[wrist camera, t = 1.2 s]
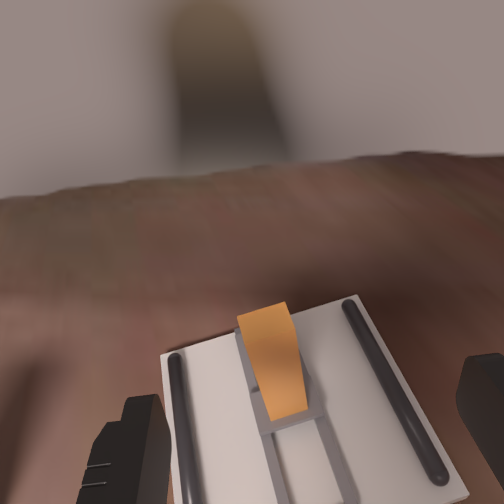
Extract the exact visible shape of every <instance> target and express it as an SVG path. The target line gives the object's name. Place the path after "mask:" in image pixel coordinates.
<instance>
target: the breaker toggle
mask: <svg viewBox="0 0 504 504" xmlns="http://www.w3.org/2000/svg"><path fill="white" fill-rule="evenodd" d="M237 319H238V323H239V326H240V330H241V334H242V337H243V341H244V345H245V347H246V350H247V353H248V356H249V359H250V362H251V365H252V368H253V371H254V374H255V377H256V380H257V382H258V385H259V388H260V391H258V392H255V393H252V394H249V396H250V400H251V404H252V408H253V412H254V416H255V420H256V424H257V427H258V431H259V435H260V436H263V435H266V434H269V433H272V432H275V431H279V430H282V429H285V428H288V427H291V426H294V425H297V424H300V423H303V422H306V421H309V420H312V419H315V418H319V417H322V416H325V412H324V409H323V407H322V404H321V402H320V399H319V396H318V394H317V391H316V389H315V386H314V383H313V381H312V378H311V376H310V375H308V376H305V377H303V374H302V367H301V361H300V355H299V349H298V342H297V336H296V330H295V326H294V324H293V321H292V319H291V316H290V314H289V311H288V309H287V306H286V303H285V302H282V303H278V304H275V305H272V306H269V307H265V308H262V309H259V310H256V311H252V312H249V313H246V314H243V315H239V316H237Z"/></svg>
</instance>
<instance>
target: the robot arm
mask: <svg viewBox="0 0 504 504" xmlns="http://www.w3.org/2000/svg"><path fill="white" fill-rule="evenodd" d="M456 403H457V408H458V411H459V414H460V416H461V418H462V420H463V422H464V424H465V425H466V427H467V429H468V430H469V432H470V434H471V435H472V437H473V439H474V441H475V442H476V444H477V446H478V447H479V449H480V451H481V452H482V454H483V456H484V458H485V459H486V461H487V463H488V464H489V466H490V468H491V469H492V471H493V473H494V475H495V476H496V478H497V480H498V481H499V483H500V485H501V486H502V488H503V490H504V356H503V355H502V354H499V353H492V354H484V355H476V356H469V357H467V358H466V359H465V362H464V366H463V369H462V373H461V377H460V381H459V385H458V389H457V393H456ZM171 453H172V441H171V432H170V428H169V425H168V422H167V419H166V416H165V413H164V410H163V407H162V404H161V401H160V398H159V396H158V394H152V395H143V396H135V397H129V398H127V400H126V402H125V405H124V409H123V413H122V417H121V421H115V422H107V423H106V425H105V426H104V428H103V429H102V431H101V432H100V434H99V435H98V437H97V438H96V439H95V441H94V442H93V445H92V449H91V453H90V456H89V460H88V463H87V470H85V474H84V477H83V481H82V488H81V489H80V491H79V495H78V498H77V502H76V504H166V502H167V492H168V483H169V473H170V463H171Z"/></svg>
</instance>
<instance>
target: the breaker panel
mask: <svg viewBox="0 0 504 504" xmlns="http://www.w3.org/2000/svg"><path fill="white" fill-rule="evenodd" d="M290 316H291V319H292V321H293V324H294V326H295V330H296V336H297V342H298V349H299V355H300V361H301V367H302V374H303V377H305V376H308V375H310V376H311V378H312V381H313V383H314V386H315V389H316V391H317V394H318V396H319V399H320V402H321V404H322V407H323V409H324V412H325V416H322V417H319V418H315V419H312V420H309V421H306V422H303V423H300V424H297V425H294V426H291V427H288V428H285V429H282V430H279V431H275V432H272V433H269V434H266V435H263V436H260V435H259V431H258V427H257V424H256V420H255V416H254V412H253V408H252V404H251V400H250V396H249V394H252V393H255V392H258V391H260V388H259V385H258V382H257V380H256V377H255V374H254V371H253V368H252V365H251V362H250V359H249V356H248V353H247V350H246V347H245V345H244V341H243V337H242V334H241V330H240V328H236V329H234V331H235V332H234V333H230V334H227V335H224V336H221V337H218V338H214V339H211V340H208V341H205V342H201V343H198V344H195V345H192V346H189V347H185V348H182V349H179V350H176V351H172V352H169V353H166V354H163V355H160V357H161V368H162V378H163V389H164V399H165V409H166V419H167V422H168V425H169V428H170V432H171V441H172V453H171V471H172V482H173V492H174V503H175V504H452V503H455V502H458V501H461V500H464V499H466V498H467V497H468V496H469V495H470V494H469V492H468V490H467V488H466V487H465V485H464V483H463V481H462V479H461V478H460V476H459V474H458V472H457V471H456V469H455V467H454V465H453V464H452V462H451V460H450V458H449V456H448V455H447V453H446V451H445V449H444V448H443V446H442V444H441V442H440V441H439V439H438V437H437V435H436V433H435V432H434V430H433V428H432V426H431V425H430V423H429V421H428V419H427V417H426V416H425V414H424V412H423V410H422V409H421V407H420V405H419V403H418V402H417V400H416V398H415V396H414V394H413V393H412V391H411V389H410V387H409V386H408V384H407V382H406V380H405V378H404V377H403V375H402V373H401V371H400V370H399V368H398V366H397V364H396V363H395V361H394V359H393V357H392V355H391V354H390V352H389V350H388V348H387V347H386V345H385V343H384V341H383V339H382V338H381V336H380V334H379V332H378V331H377V329H376V327H375V325H374V324H373V322H372V320H371V318H370V316H369V315H368V313H367V311H366V309H365V308H364V306H363V304H362V302H361V301H360V299H359V297H358V295H357V294H356V295H353V296H350V297H347V298H344V299H340V300H337V301H334V302H331V303H327V304H324V305H321V306H318V307H314V308H311V309H308V310H305V311H302V312H298V313H295V314H292V315H290Z"/></svg>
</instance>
